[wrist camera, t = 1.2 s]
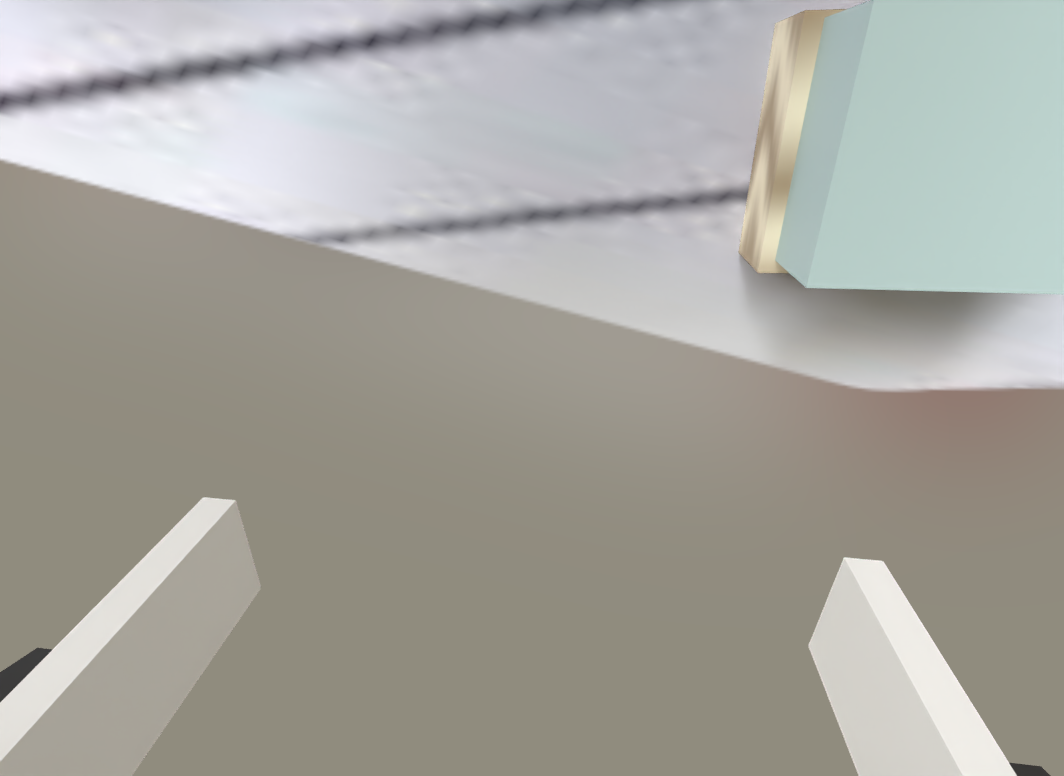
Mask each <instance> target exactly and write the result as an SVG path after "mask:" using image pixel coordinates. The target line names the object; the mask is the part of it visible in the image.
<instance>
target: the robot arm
mask: <svg viewBox="0 0 1064 776" xmlns="http://www.w3.org/2000/svg"><path fill="white" fill-rule="evenodd" d="M260 589H261V585H260V582H259V579H258V575H257V572H256V568H255V564H254V561H253V558H252V554H251V551H250V547H249V544H248V540H247V537H246V534H245V530H244V527H243V523H242V520H241V516H240V513H239V509H238V506H237V503H236V500H227V499H226V500H225V499H216V498H205V497H204V498H202V499H201V500H200V501H199V502H198V503H197V504H196V506H194V507H193V508H192V509H191V511H190V512H189V513H188V514H187V515H186V516H185V517H184V518H183V519H182V520H181V521H180V522H179V523H178V524H177V525H176V526H175V527H174V528H173V529H172V530H171V531H170V532H169V533H168V534H167V535H166V536H165V537H164V538H163V539H162V540H161V541H160V542H159V543H158V544H157V545H156V546H155V547H154V548H153V549H152V550H151V551H150V552H149V553H148V554H147V555H146V556H145V557H144V558H143V559H142V560H141V561H140V562H139V563H138V564H137V565H136V566H135V567H134V568H133V569H132V570H131V571H130V572H129V573H128V574H127V575H126V576H125V577H124V578H123V579H122V580H121V581H120V582H119V583H118V584H117V585H116V586H115V587H114V588H113V589H112V590H111V591H110V592H109V593H108V595H106V596H105V597H104V598H103V599H102V600H101V601H100V602H99V603H98V605H96V607H94V609H92V610H91V612H90V613H89V614H88V615H87V616H86V617H85V618H84V619H83V620H82V621H81V622H80V623H79V624H78V625H77V626H76V627H75V628H74V629H73V630H72V631H71V632H70V633H69V634H68V635H67V636H66V637H65V638H64V639H63V640H62V641H61V642H60V643H59V644H58V645H57V646H56V647H55V648H54V649H53V650H51V649H43V648H36V649H35V650H34V651H32V652H30V653H29V654H27V655H26V656H24V657H23V658H21V659H20V660H18V661H17V662H15V663H14V664H12V665H11V666H9V667H8V668H6V669H5V670H3V671H2V672H0V776H132V775H133V773H134V772H135V770H136V769H137V767H138V766H139V764H140V763H141V762H142V760H143V759H144V757H145V756H146V754H147V753H148V751H149V750H150V749H151V747H152V746H153V744H154V743H155V741H156V740H157V738H158V737H159V735H160V734H161V733H162V731H163V730H164V728H165V727H166V725H167V724H168V722H169V721H170V719H171V718H172V717H173V715H174V714H175V712H176V711H177V709H178V708H179V706H180V705H181V703H182V702H183V701H184V699H185V697H186V696H187V695H188V693H189V692H190V690H191V689H192V687H193V686H194V685H195V683H196V682H197V680H198V679H199V677H200V676H201V674H202V673H203V672H204V670H205V669H206V667H207V666H208V664H209V663H210V661H211V660H212V658H213V657H214V655H215V654H216V652H217V651H218V650H219V648H220V647H221V645H222V644H223V642H224V641H225V640H226V638H227V637H228V635H229V634H230V632H231V631H232V629H233V628H234V626H235V625H236V623H237V622H238V621H239V619H240V618H241V616H242V615H243V613H244V612H245V610H246V609H247V607H248V606H249V604H250V603H251V602H252V600H253V599H254V597H255V596H256V594H257V593H258V592H259V590H260ZM808 647H809V649H810V652H811V654H812V657H813V659H814V662H815V665H816V667H817V670H818V672H819V675H820V677H821V680H822V683H823V685H824V688H825V690H826V693H827V695H828V698H829V701H830V703H831V706H832V708H833V711H834V713H835V716H836V719H837V721H838V724H839V726H840V728H841V731H842V734H843V736H844V739H845V742H846V744H847V746H848V749H849V752H850V754H851V757H852V760H853V762H854V765H855V767H856V770H857V772H858V775H859V776H1050V775H1049V774H1048V773H1047V772H1046V771H1045V770H1044V769H1043V768H1042V767H1040V766H1031V765H1023V764H1015V763H1009V762H1008V761H1007V759H1006V758H1005V756H1004V754H1003V753H1002V751H1001V750H1000V748H999V746H998V745H997V743H996V741H995V740H994V738H993V737H992V735H991V734H990V732H989V730H988V729H987V727H986V725H985V724H984V722H983V721H982V719H981V717H980V716H979V714H978V713H977V711H976V709H975V708H974V706H973V705H972V703H971V701H970V700H969V698H968V697H967V695H966V693H965V692H964V690H963V689H962V687H961V685H960V684H959V682H958V681H957V679H956V677H955V676H954V674H953V672H952V671H951V669H950V668H949V666H948V665H947V663H946V661H945V660H944V658H943V657H942V655H941V653H940V652H939V650H938V648H937V647H936V645H935V644H934V642H933V641H932V639H931V637H930V636H929V634H928V633H927V631H926V629H925V628H924V626H923V624H922V623H921V621H920V620H919V618H918V616H917V615H916V613H915V612H914V610H913V608H912V607H911V605H910V604H909V602H908V601H907V599H906V597H905V596H904V594H903V592H902V591H901V589H900V587H899V586H898V584H897V583H896V581H895V580H894V578H893V576H892V575H891V573H890V572H889V570H888V568H887V567H886V565H885V563H884V562H883V561H877V560H866V559H855V558H845V557H844V559H843V561H842V564H841V566H840V569H839V571H838V574H837V576H836V579H835V581H834V584H833V586H832V588H831V591H830V593H829V596H828V598H827V601H826V603H825V606H824V608H823V611H822V613H821V616H820V618H819V621H818V623H817V626H816V628H815V631H814V633H813V635H812V638H811V640H810V643H809V645H808Z"/></svg>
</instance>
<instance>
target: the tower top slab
mask: <svg viewBox="0 0 1064 776" xmlns="http://www.w3.org/2000/svg"><path fill="white" fill-rule="evenodd" d="M775 261H776V262H778V263H779V264H780V265H781V266H782V267H783V268H784V269H785V270H787V271H788V272H789V273H790V274H791V275H792V276H793V277H794V278H796V279H797V280H798V281H799V282H800V283H801V284H802V285H803V286H805V287H806V288H827V289H867V290H906V291H946V292H985V293H1025V294H1064V0H871V1H868V2H865V3H863V4H860V5H857V6H854V7H852V8H849V9H846V10H844V11H841V12H838V13H836V14H833V15H830V16H828V17H825V18H824V23H823V28H822V33H821V38H820V43H819V48H818V53H817V57H816V62H815V67H814V72H813V77H812V82H811V87H810V92H809V97H808V102H807V107H806V112H805V116H804V121H803V126H802V131H801V136H800V141H799V146H798V151H797V156H796V161H795V166H794V170H793V175H792V180H791V185H790V190H789V195H788V200H787V205H786V210H785V215H784V220H783V224H782V229H781V234H780V239H779V244H778V249H777V254H776V259H775Z"/></svg>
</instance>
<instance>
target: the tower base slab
mask: <svg viewBox="0 0 1064 776" xmlns="http://www.w3.org/2000/svg"><path fill="white" fill-rule="evenodd" d="M844 10H846V9H833V10H805V11H803V12H800V13H798V14H796V15H794V16H791V17H789V18H787V19H784V20H782V21H780V22H778V23H775V28H774V34H773V40H772V47H771V53H770V59H769V65H768V71H767V78H766V84H765V90H764V96H763V103H762V109H761V115H760V121H759V128H758V134H757V140H756V146H755V153H754V159H753V165H752V171H751V178H750V184H749V190H748V196H747V203H746V209H745V215H744V221H743V228H742V234H741V240H740V246H739V254H740V255H741V256H742V257H743V258H744V259H745V260H746V261H747V262H748V263H749V264H750V265H751V266H752V267H753V268H754V269H755V271H756V272H757V273H789V272H788V271H787V270H785V269H784V268H783V267H782V266H781V265H780V264H779V263H778V262H776V261H775V259H776V254H777V249H778V244H779V239H780V234H781V229H782V224H783V220H784V215H785V210H786V205H787V200H788V195H789V190H790V185H791V180H792V175H793V170H794V166H795V161H796V156H797V151H798V146H799V141H800V136H801V131H802V126H803V121H804V116H805V112H806V107H807V102H808V97H809V92H810V87H811V82H812V77H813V72H814V67H815V62H816V57H817V53H818V48H819V43H820V38H821V33H822V28H823V23H824V18H825V17H828V16H830V15H833V14H836V13H838V12H841V11H844Z"/></svg>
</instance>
